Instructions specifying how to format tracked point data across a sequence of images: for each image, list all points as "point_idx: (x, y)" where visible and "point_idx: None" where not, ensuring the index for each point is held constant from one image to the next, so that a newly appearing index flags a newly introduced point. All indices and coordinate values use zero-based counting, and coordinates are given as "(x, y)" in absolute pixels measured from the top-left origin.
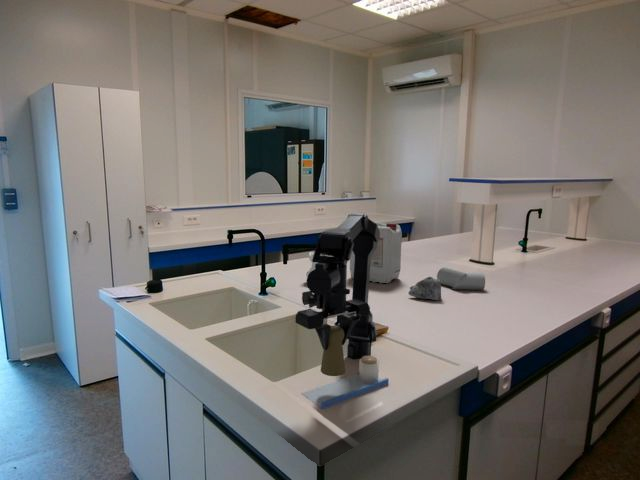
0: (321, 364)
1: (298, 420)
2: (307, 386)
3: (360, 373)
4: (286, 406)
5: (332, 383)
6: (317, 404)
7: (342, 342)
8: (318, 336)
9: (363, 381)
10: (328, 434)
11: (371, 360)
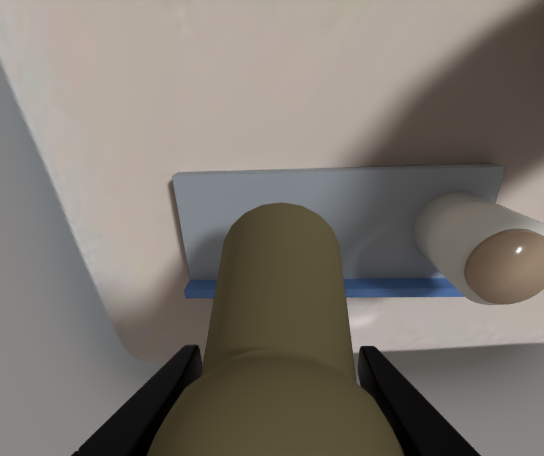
0: (227, 243)
1: (122, 268)
2: (240, 107)
3: (429, 234)
4: (114, 190)
5: (315, 178)
6: (189, 262)
7: (364, 389)
8: (81, 446)
9: (414, 239)
10: (166, 344)
11: (503, 289)
